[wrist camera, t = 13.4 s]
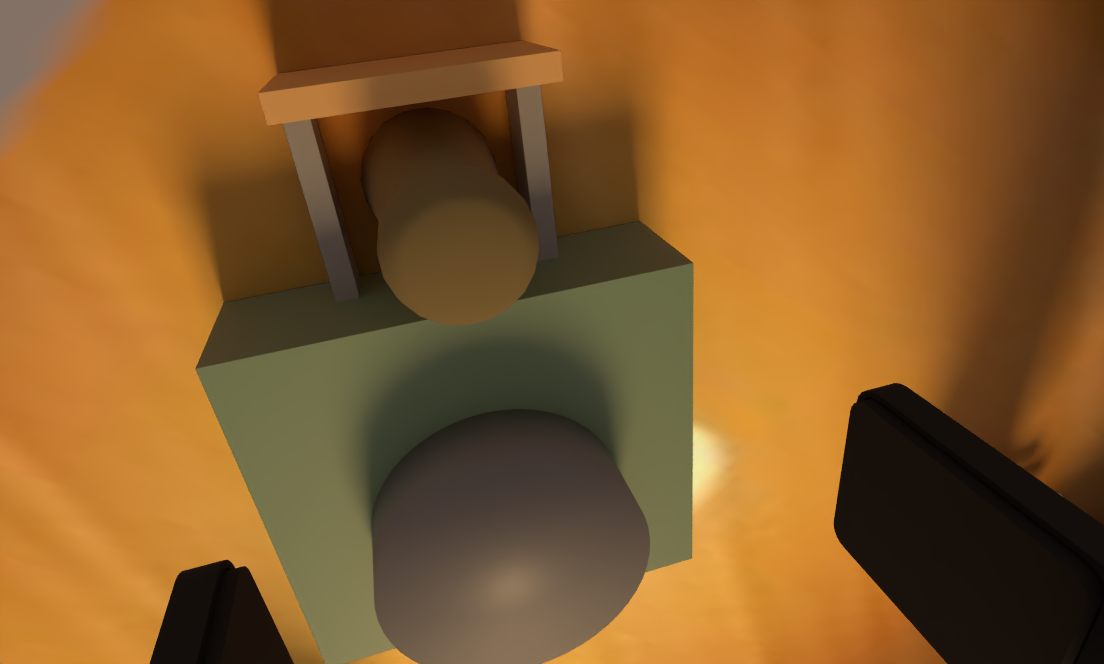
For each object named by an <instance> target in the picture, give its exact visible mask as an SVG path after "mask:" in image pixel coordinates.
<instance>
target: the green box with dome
mask: <svg viewBox="0 0 1104 664" xmlns="http://www.w3.org/2000/svg"><path fill="white" fill-rule="evenodd" d="M562 81H563V70H562V59H561V50H557V49H553V48H549V47H545V46H541V45H538V44H534V43H530V42H526V41H514V42H507V43H500V44H492V45H485V46H478V47H470V48H463V49H456V50H448V51H441V52H434V53H426V54H419V55H412V56H405V57H397V58H390V59H383V60H375V61H368V62H361V63H353V64H346V65H339V66H331V67H324V68H317V69H309V70H302V71H295V72H287V73H280V74H277V75H276V76H275V77H274V78H273V79H271V80H270V81H269V82H268V83H267V84H266V85H265V86H264V87H263V88H262V89H261V90H260V91H259V92H258V96H259V100H260V103H261V106H262V109H263V112H264V116H265V119H266V122H267V125H268V126H269V125H276V124H283V126H284V130H285V133H286V136H287V140H288V143H289V146H290V150H291V153H292V156H293V160H294V163H295V166H296V170H297V173H298V177H299V180H300V183H301V187H302V190H303V193H304V197H305V200H306V203H307V207H308V210H309V213H310V217H311V220H312V224H313V227H314V230H315V234H316V237H317V240H318V244H319V247H320V250H321V254H322V257H323V260H324V264H325V267H326V271H327V274H328V277H329V281H330V282H327V283H322V284H317V285H312V286H307V287H302V288H297V289H291V290H286V291H281V292H276V293H271V294H266V295H261V296H256V297H251V298H246V299H241V300H235V301H230V302H225V303H223V306H222V308H221V310H220V313H219V315H218V317H217V320H216V322H215V324H214V327H213V329H212V331H211V334H210V336H209V338H208V341H207V343H206V345H205V348H204V350H203V352H202V355H201V357H200V359H199V362H198V364H197V366H196V371H197V374H198V376H199V378H200V381H201V383H202V385H203V387H204V390H205V392H206V394H207V396H208V399H209V401H210V403H211V405H212V408H213V410H214V412H215V414H216V417H217V419H218V421H219V424H220V426H221V428H222V430H223V433H224V435H225V437H226V439H227V442H228V444H229V446H230V448H231V451H232V453H233V455H234V458H235V460H236V462H237V464H238V467H239V469H240V471H241V473H242V476H243V478H244V480H245V482H246V485H247V487H248V489H249V492H250V494H251V496H252V498H253V501H254V503H255V505H256V507H257V510H258V512H259V514H260V516H261V519H262V521H263V523H264V525H265V528H266V530H267V532H268V535H269V537H270V539H271V541H272V544H273V546H274V548H275V550H276V553H277V555H278V557H279V559H280V562H281V564H282V566H283V569H284V571H285V573H286V575H287V578H288V580H289V582H290V584H291V587H292V589H293V591H294V593H295V596H296V598H297V600H298V603H299V605H300V607H301V609H302V612H303V614H304V616H305V618H306V621H307V623H308V625H309V627H310V630H311V632H312V634H313V637H314V639H315V641H316V643H317V646H318V648H319V650H320V652H321V655H322V657H323V659H324V661H325V664H346V663H349V662H352V661H355V660H359V659H362V658H365V657H369V656H372V655H375V654H378V653H382V652H385V651H388V650H392V649H395V648H397V649H398V650H399V651H400V652H401V653H403V654H404V655H406V656H407V657H408V658H410V659H411V660H413V661H415V662H417V663H419V664H542V663H545V662H547V661H550V660H552V659H555V658H557V657H559V656H561V655H563V654H565V653H567V652H569V651H571V650H573V649H575V648H576V647H578V646H580V645H582V644H583V643H585V642H586V641H588V640H589V639H590V638H592V637H593V636H595V635H596V634H597V633H599V632H600V631H601V630H602V629H603V628H605V627H606V626H607V625H608V624H609V623H610V622H611V621H612V620H613V619H614V618H615V617H616V616H617V615H618V614H619V613H620V612H621V611H622V610H623V608H624V607H625V606H626V605H627V604H628V602H629V601H630V599H631V598H632V596H633V595H634V593H635V592H636V590H637V588H638V586H639V584H640V583H641V581H642V579H643V576H644V573H645V572H648V571H652V570H655V569H658V568H661V567H665V566H668V565H671V564H675V563H678V562H681V561H684V560H688V559H691V558H692V468H693V262H691V261H690V260H689V259H688V258H686V257H685V256H684V255H683V254H681V253H680V252H679V251H677V250H676V249H675V248H674V247H672V246H671V245H670V244H668V243H667V242H666V241H665V240H663V239H662V238H661V237H660V236H658V235H657V234H656V233H654V232H653V231H652V230H651V229H649V228H648V227H647V226H646V225H644V224H643V223H642V222H640V221H638V222H632V223H627V224H622V225H617V226H612V227H607V228H602V229H597V230H592V231H587V232H582V233H576V234H571V235H566V236H561V237H556V227H555V218H554V208H553V199H552V190H551V180H550V171H549V161H548V152H547V142H546V133H545V123H544V114H543V104H542V95H541V85H542V84H548V83H555V82H562ZM502 90H505V94H506V101H507V109H508V117H509V124H510V132H511V140H512V147H513V155H514V162H515V170H516V178H517V185H518V193H519V194H520V195H521V196H522V197H523V198H524V199H525V201H526V203H527V205H528V207H529V209H530V211H531V213H532V215H533V217H534V219H535V221H536V228H537V235H538V242H539V253H538V259H537V264H536V270H535V273H534V275H533V277H532V279H531V281H530V283H529V285H528V287H527V289H526V290H525V292H524V293H523V294H522V295H521V296H520V297H519V298H518V299H517V300H516V301H515V302H514V304H513V305H512V306H511V307H510V308H509V309H507V310H505V311H503V312H502V313H500V314H498V315H496V316H494V317H493V318H491V319H489V320H486V321H482V322H478V323H473V324H469V325H448V324H440V323H437V322H434V321H432V320H429V319H426V318H423V317H420V316H419V315H418V314H416V313H415V312H414V311H412V310H411V309H410V308H408V307H407V306H406V305H404V304H403V303H402V302H401V301H400V300H399V299H398V298H397V297H396V295H395V294H394V292H393V291H392V290H391V288H390V287H389V285H388V284H387V282H386V281H385V280H384V278H383V274H382V272H378V273H373V274H368V275H363V276H359V274H358V270H357V266H356V263H355V259H354V255H353V252H352V248H351V244H350V241H349V237H348V233H347V230H346V226H345V222H344V218H343V215H342V211H341V207H340V204H339V200H338V196H337V193H336V189H335V185H334V182H333V178H332V174H331V171H330V167H329V163H328V160H327V156H326V152H325V149H324V145H323V141H322V138H321V134H320V130H319V127H318V123H317V119H316V118H322V117H329V116H336V115H342V114H349V113H356V112H362V111H369V110H376V109H382V108H389V107H396V106H402V105H409V104H416V103H422V102H429V101H435V100H442V99H449V98H455V97H462V96H469V95H475V94H482V93H489V92H495V91H502Z"/></svg>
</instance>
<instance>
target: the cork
mask: <svg viewBox="0 0 1104 664" xmlns="http://www.w3.org/2000/svg"><path fill="white" fill-rule="evenodd" d="M361 183H362V187H363V191H364V194H365V198H366V202H367V203H368V205H369V207H370V208H371V210H372V211H373V213H374V215H375V216H376V218H377V220H378V221H379V224H378V239H377V256H378V260H379V263H380V267H381V271H382V274H383V278H384V280H385V281H386V282H387V284H388V285H389V287H390V288H391V290H392V291H393V292H394V294H395V295H396V297H397V298H398V299H399V300H400V301H401V302H402V303H403V304H404V305H406V306H407V307H408V308H410V309H411V310H412V311H414V312H415V313H416V314H418V315H419V316H420V317H423V318H426V319H429V320H432V321H434V322H437V323H440V324H448V325H469V324H473V323H478V322H482V321H486V320H489V319H491V318H493V317H494V316H496V315H498V314H500V313H502V312H503V311H505V310H507V309H509V308H510V307H511V306H512V305H513V304H514V302H515V301H516V300H517V299H518V298H519V297H520V296H521V295H522V294H523V293H524V292H525V290H526V289H527V287H528V285H529V283H530V281H531V279H532V277H533V275H534V273H535V270H536V264H537V259H538V253H539V242H538V235H537V228H536V221H535V219H534V217H533V215H532V213H531V211H530V209H529V207H528V205H527V203H526V201H525V199H524V198H523V197H522V196H521V195H520V194H519V193H518V192H517V191H516V190H515V189H514V188H513V187H512V186H511V185H510V184H509V183H508V182H507V181H506V180H504V179H503V178H502V177H500V176H499V175H498V171H497V167H496V163H495V159H494V155H493V153H492V151H491V149H490V147H489V145H488V143H487V141H486V140H485V138H484V136H483V135H482V134H481V133H480V132H479V131H478V130H477V129H476V128H475V127H474V126H473V125H472V124H471V123H470V122H469V121H468V120H466V119H464V118H462V117H460V116H458V115H456V114H454V113H452V112H450V111H446V110H439V109H433V108H421V109H415V110H410V111H404V112H403V113H401V114H399V115H397V116H395V117H394V118H392V119H390V120H388V121H386V122H385V123H384V124H383V125H382V126H381V127H380V128H379V130H378V131H377V132H376V133H375V134H374V135H373V136H372V137H371V139H370V141H369V143H368V146H367V148H366V151H365V153H364V155H363V158H362V168H361Z"/></svg>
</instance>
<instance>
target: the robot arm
mask: <svg viewBox="0 0 1104 664" xmlns="http://www.w3.org/2000/svg"><path fill="white" fill-rule="evenodd" d="M834 529H835V533H836V535H837V538H838V539H839V541H840V543H841V544H842V545H843V547H844V548H845V549H846V550H847V551H848V552H849V553H850V555H851V556H852V557H853V558H854V559H855V560H856V561H857V562H858V564H859V565H860V566H861V567H862V568H863V569H864V570H865V571H866V573H867V574H868V575H869V576H870V577H871V578H872V579H873V580H874V582H875V583H876V584H877V585H878V586H879V587H880V588H881V589H882V591H883V592H884V593H885V594H886V595H887V596H888V597H889V598H890V600H891V601H892V602H893V603H894V604H895V605H896V606H897V607H898V609H899V610H900V611H901V612H902V613H903V614H904V615H905V616H906V618H907V619H908V620H909V621H910V622H911V623H912V624H913V625H914V627H915V628H916V629H917V630H918V631H919V632H920V633H921V634H922V636H923V637H924V638H925V639H926V640H927V641H928V642H929V643H930V645H931V646H932V647H933V648H934V649H935V650H936V651H937V652H938V654H939V655H940V656H941V657H942V658H943V659H944V660H945V661H946V663H947V664H1104V526H1103V525H1102V524H1101V523H1099V522H1098V521H1096V520H1095V519H1093V518H1092V517H1091V516H1089V515H1088V514H1086V513H1085V512H1084V511H1082V510H1081V509H1079V508H1078V507H1076V506H1075V505H1074V504H1072V503H1071V502H1069V501H1068V500H1067V499H1065V498H1064V497H1063V496H1062V495H1061V494H1060V493H1058V492H1056V491H1054V490H1052V489H1051V488H1050V487H1048V486H1047V485H1045V484H1044V483H1042V482H1041V481H1040V480H1038V479H1037V478H1035V477H1034V476H1033V475H1031V474H1030V473H1028V472H1027V471H1025V470H1024V469H1023V468H1021V467H1020V466H1018V465H1017V464H1015V463H1014V462H1013V461H1011V460H1010V459H1008V458H1007V457H1006V456H1004V455H1003V454H1001V453H1000V452H998V451H997V450H996V449H994V448H993V447H991V446H990V445H989V444H987V443H986V442H984V441H983V440H981V439H980V438H979V437H977V436H976V435H974V434H973V433H972V432H970V431H969V430H967V429H966V428H964V427H963V426H962V425H960V424H959V423H957V422H956V421H955V420H953V419H952V418H950V417H949V416H947V415H946V414H945V413H943V412H942V411H940V410H939V409H937V408H936V407H935V406H933V405H932V404H930V403H929V402H928V401H926V400H925V399H923V398H922V397H920V396H919V395H918V394H916V393H915V392H913V391H912V390H911V389H909V388H908V387H906V386H904V385H902V384H898V383H893V384H890V385H886V386H882V387H878V388H874V389H871V390H867V391H864V392H862V393H861V394H860V395H859V396H858V399H857V403H854V405H853V406H852V408H851V411H850V417H849V424H848V431H847V437H846V444H845V451H844V457H843V464H842V471H841V477H840V484H839V490H838V497H837V504H836V510H835V517H834ZM150 664H294V663H293V661H292V659H291V657H290V655H289V652H288V650H287V648H286V646H285V644H284V642H283V640H282V638H281V636H280V634H279V632H278V629H277V627H276V625H275V623H274V621H273V619H272V617H271V615H270V613H269V611H268V608H267V606H266V604H265V602H264V600H263V598H262V596H261V594H260V592H259V590H258V587H257V585H256V583H255V581H254V579H253V577H252V575H251V573H250V571H249V569H248V568H247V567H245V566H244V567H239V568H236V569H235V567H234V566H233V564H232V563H231V562H230V561H229V560H223V561H219V562H215V563H212V564H208V565H204V566H200V567H197V568H193V569H189V570H185V571H182V572H181V573H180V574H179V575H178V576H177V579H176V581H175V584H174V587H173V590H172V593H171V596H170V600H169V603H168V606H167V609H166V613H165V616H164V619H163V622H162V625H161V629H160V632H159V635H158V638H157V642H156V645H155V648H154V651H153V654H152V658H151V661H150Z"/></svg>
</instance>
